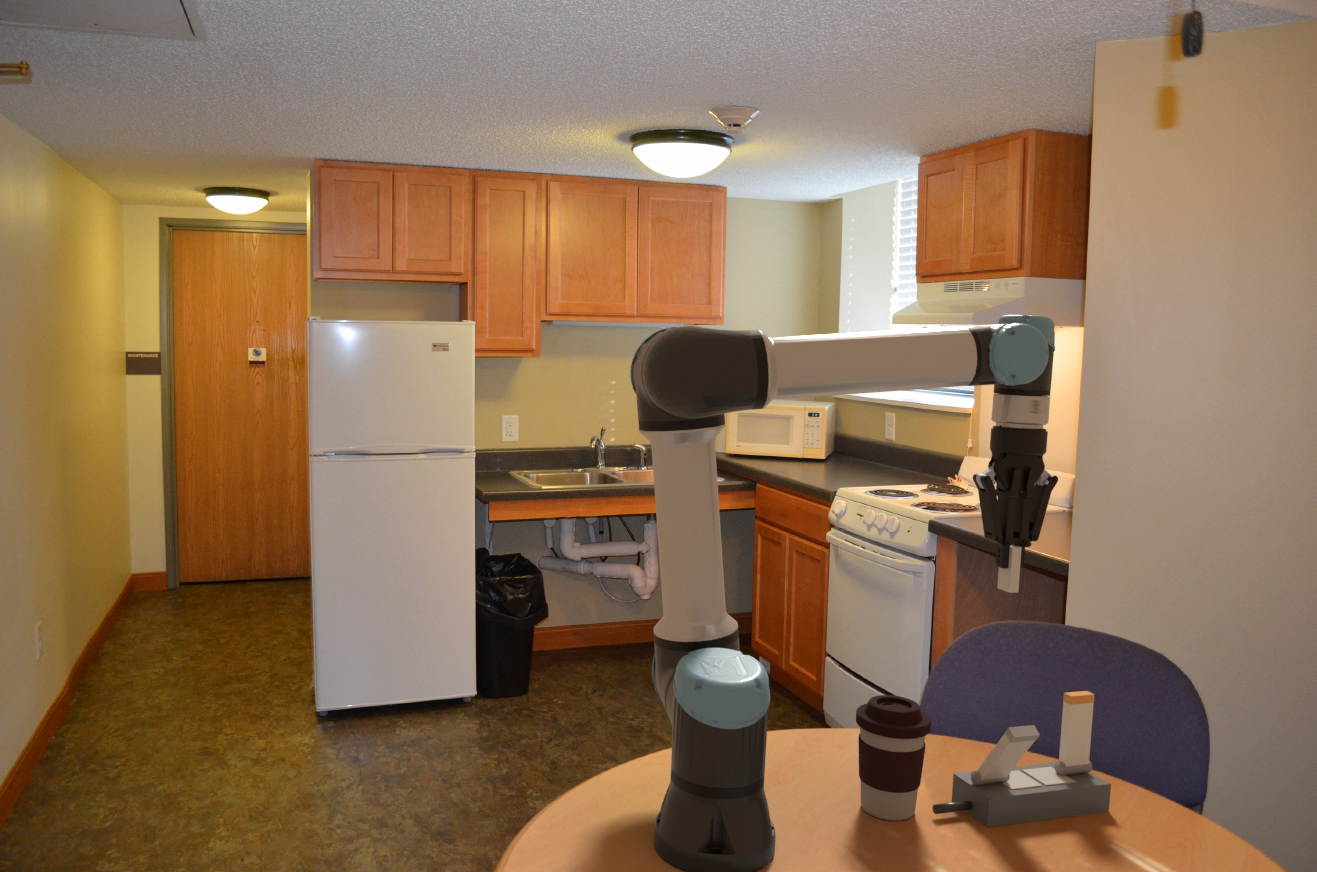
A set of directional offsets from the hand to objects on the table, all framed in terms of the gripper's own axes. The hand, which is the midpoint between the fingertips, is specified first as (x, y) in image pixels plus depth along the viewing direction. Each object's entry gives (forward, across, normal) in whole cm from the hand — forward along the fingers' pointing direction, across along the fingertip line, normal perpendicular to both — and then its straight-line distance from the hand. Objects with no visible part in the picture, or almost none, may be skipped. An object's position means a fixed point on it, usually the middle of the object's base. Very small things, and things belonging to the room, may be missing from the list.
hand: (1007, 590), depth 138 cm
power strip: (+29, -1, -6) cm, 30 cm away
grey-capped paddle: (+24, -5, -6) cm, 26 cm away
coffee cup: (+30, -19, -2) cm, 35 cm away
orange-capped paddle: (+24, +9, -6) cm, 27 cm away
